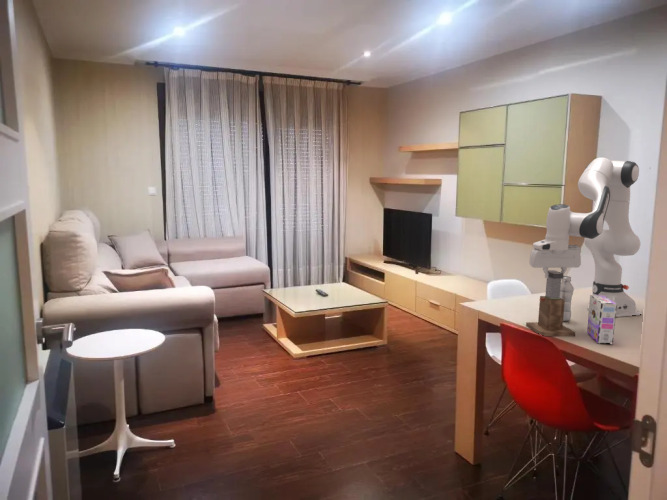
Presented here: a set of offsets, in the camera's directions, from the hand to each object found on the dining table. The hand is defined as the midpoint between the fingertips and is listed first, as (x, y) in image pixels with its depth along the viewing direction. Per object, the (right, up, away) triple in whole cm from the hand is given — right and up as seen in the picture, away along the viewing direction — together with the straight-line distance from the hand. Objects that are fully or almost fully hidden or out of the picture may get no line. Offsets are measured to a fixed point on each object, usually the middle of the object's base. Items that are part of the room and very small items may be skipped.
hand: (553, 278), depth 207 cm
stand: (0, -22, +3) cm, 23 cm away
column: (0, -15, +2) cm, 15 cm away
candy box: (+16, -24, -6) cm, 29 cm away
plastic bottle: (+12, -20, +18) cm, 30 cm away
